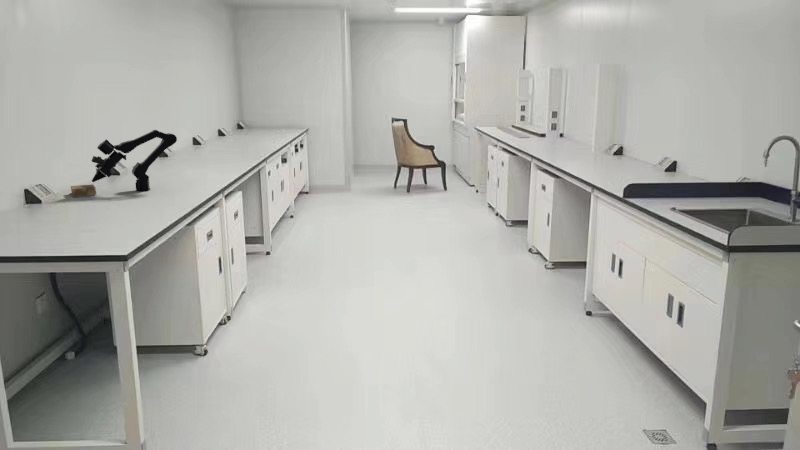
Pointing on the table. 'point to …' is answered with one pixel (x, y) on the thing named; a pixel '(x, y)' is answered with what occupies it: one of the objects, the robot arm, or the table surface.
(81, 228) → the table surface
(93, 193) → the walnut block
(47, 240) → the table surface
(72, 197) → the mat
